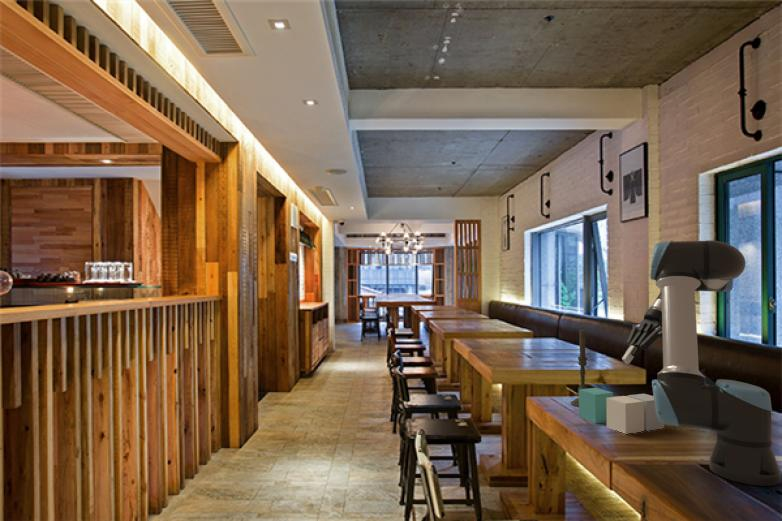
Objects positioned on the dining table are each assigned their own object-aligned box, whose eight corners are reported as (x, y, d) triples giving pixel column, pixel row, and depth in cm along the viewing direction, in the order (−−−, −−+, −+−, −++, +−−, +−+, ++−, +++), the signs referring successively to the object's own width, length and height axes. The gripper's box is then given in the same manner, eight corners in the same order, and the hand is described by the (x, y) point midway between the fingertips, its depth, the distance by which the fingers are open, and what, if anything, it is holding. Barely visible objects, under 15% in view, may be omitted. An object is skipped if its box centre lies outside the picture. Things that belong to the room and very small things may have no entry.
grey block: (644, 422, 176) (644, 393, 176) (664, 429, 168) (664, 398, 169) (627, 424, 173) (626, 395, 173) (646, 431, 165) (646, 401, 166)
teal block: (596, 415, 185) (596, 387, 185) (613, 421, 177) (613, 392, 177) (579, 417, 182) (578, 389, 182) (595, 423, 174) (595, 394, 175)
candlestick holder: (599, 404, 199) (598, 328, 200) (589, 409, 193) (589, 330, 193) (576, 400, 205) (575, 326, 206) (566, 404, 199) (566, 328, 200)
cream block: (624, 425, 173) (624, 395, 173) (644, 432, 165) (643, 401, 165) (606, 427, 170) (606, 397, 170) (625, 434, 162) (625, 403, 162)
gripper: (679, 322, 186) (645, 371, 180) (649, 319, 198) (617, 364, 192) (668, 308, 184) (634, 357, 178) (639, 306, 196) (606, 351, 190)
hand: (625, 361), depth 185 cm, fingers closed
